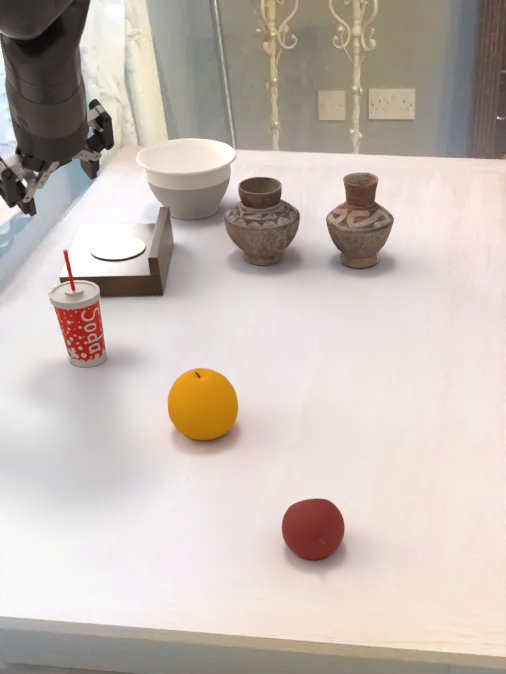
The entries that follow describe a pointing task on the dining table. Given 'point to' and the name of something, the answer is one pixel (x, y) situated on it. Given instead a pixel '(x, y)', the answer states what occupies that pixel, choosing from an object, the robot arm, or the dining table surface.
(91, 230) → the shelf
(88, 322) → the beverage cup
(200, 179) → the bowl
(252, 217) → the pottery
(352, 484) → the dining table surface
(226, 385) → the apple
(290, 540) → the fruit
